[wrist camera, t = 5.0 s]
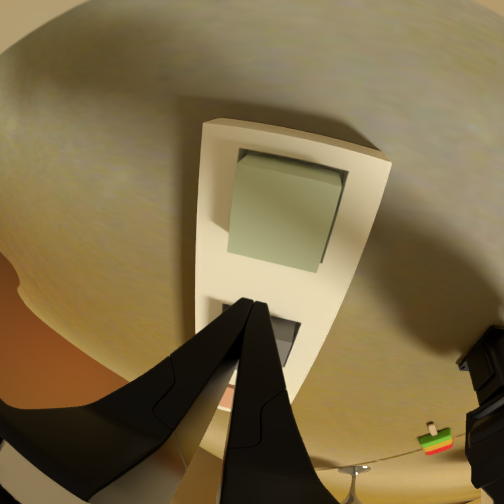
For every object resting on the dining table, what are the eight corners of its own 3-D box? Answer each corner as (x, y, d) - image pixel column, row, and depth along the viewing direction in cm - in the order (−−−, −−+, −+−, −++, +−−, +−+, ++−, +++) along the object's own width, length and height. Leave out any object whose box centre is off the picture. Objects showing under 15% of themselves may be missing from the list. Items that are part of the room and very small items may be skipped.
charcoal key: (296, 317, 21) (291, 342, 19) (282, 356, 23) (277, 380, 21) (230, 301, 21) (220, 324, 19) (225, 342, 24) (217, 364, 22)
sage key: (338, 172, 15) (341, 186, 13) (317, 249, 17) (316, 273, 15) (248, 153, 15) (236, 164, 13) (238, 231, 18) (226, 252, 16)
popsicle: (426, 448, 36) (426, 456, 34) (413, 425, 31) (414, 435, 30) (452, 439, 33) (453, 447, 32) (447, 413, 29) (448, 424, 27)
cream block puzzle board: (381, 151, 15) (392, 162, 13) (283, 404, 32) (279, 423, 29) (220, 117, 16) (203, 122, 14) (205, 384, 33) (197, 402, 31)
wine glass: (371, 472, 44) (365, 529, 32) (337, 474, 47) (328, 531, 35) (373, 464, 41) (367, 528, 29) (335, 466, 44) (325, 530, 31)
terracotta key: (272, 378, 28) (268, 397, 26) (264, 398, 31) (260, 416, 29) (226, 366, 28) (219, 385, 26) (223, 388, 31) (217, 405, 29)
